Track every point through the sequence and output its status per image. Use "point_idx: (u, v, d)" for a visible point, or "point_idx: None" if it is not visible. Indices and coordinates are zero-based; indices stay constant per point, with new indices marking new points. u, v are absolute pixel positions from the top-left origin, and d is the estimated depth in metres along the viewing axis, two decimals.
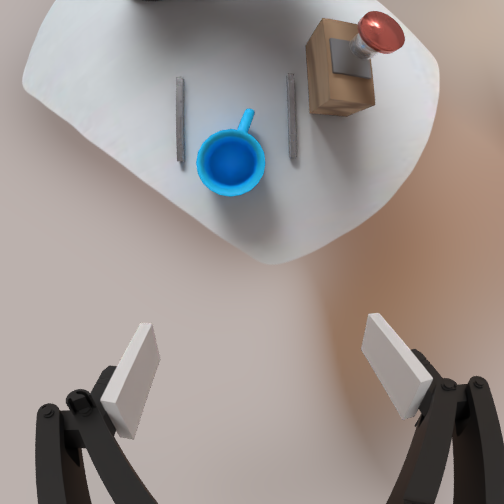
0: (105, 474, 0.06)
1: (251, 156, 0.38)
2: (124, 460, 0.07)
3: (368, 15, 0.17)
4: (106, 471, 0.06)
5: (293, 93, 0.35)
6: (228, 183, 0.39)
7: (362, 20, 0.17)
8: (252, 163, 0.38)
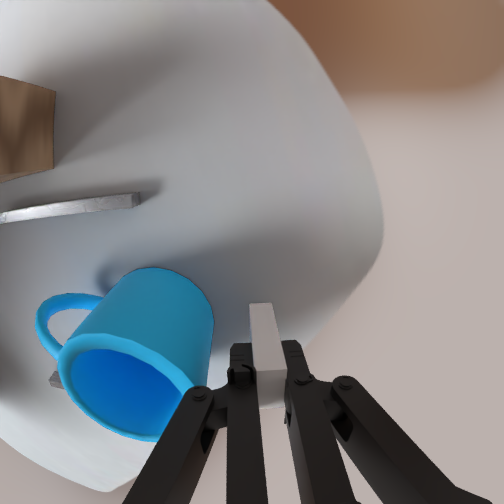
0: (233, 447, 0.08)
1: None
2: (260, 440, 0.08)
3: None
4: (236, 445, 0.08)
5: (20, 211, 0.15)
6: None
7: None
8: None
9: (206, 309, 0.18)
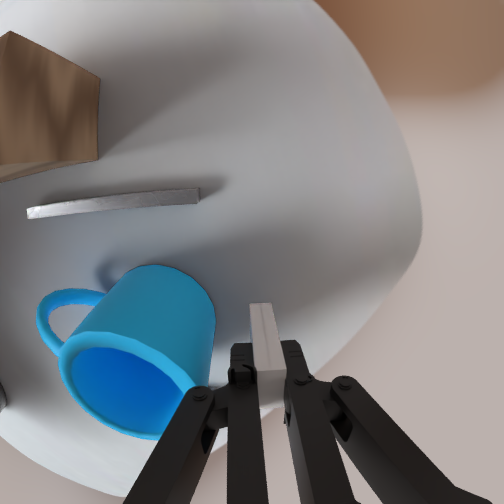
0: (234, 447, 0.08)
1: None
2: (261, 440, 0.08)
3: None
4: (236, 444, 0.08)
5: (58, 205, 0.15)
6: None
7: None
8: None
9: (209, 308, 0.18)
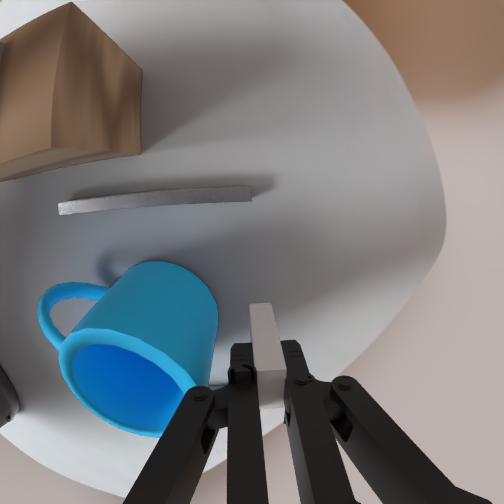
0: (234, 447, 0.08)
1: None
2: (261, 440, 0.08)
3: None
4: (237, 444, 0.08)
5: (97, 200, 0.15)
6: None
7: None
8: None
9: (212, 307, 0.18)
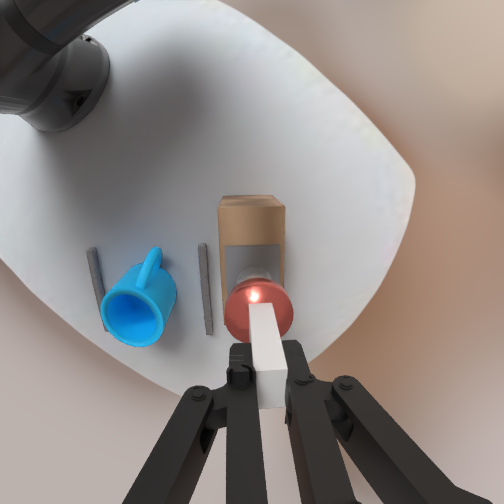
0: (233, 447, 0.08)
1: None
2: (260, 440, 0.08)
3: (235, 300, 0.18)
4: (235, 445, 0.08)
5: (205, 271, 0.35)
6: (144, 311, 0.37)
7: (225, 309, 0.18)
8: None
9: None
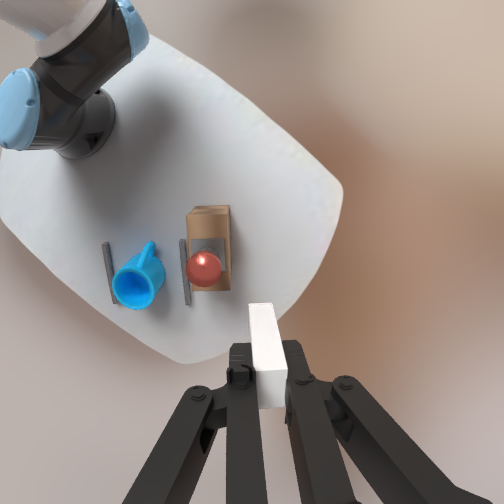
0: (233, 447, 0.08)
1: None
2: (260, 440, 0.08)
3: (190, 261, 0.35)
4: (235, 445, 0.08)
5: (184, 258, 0.51)
6: (142, 287, 0.53)
7: (186, 266, 0.35)
8: None
9: None
